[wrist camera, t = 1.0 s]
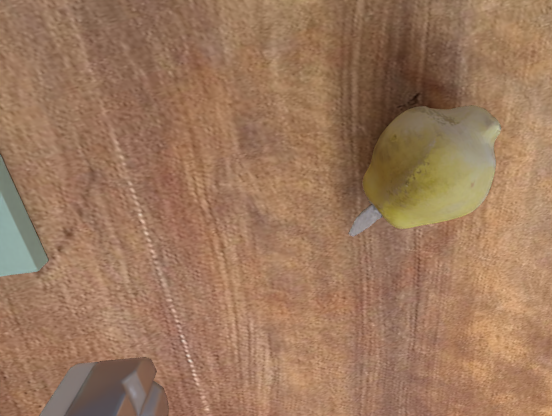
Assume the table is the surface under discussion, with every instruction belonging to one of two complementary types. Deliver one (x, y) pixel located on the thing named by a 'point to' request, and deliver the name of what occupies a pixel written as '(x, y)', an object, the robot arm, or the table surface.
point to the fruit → (430, 167)
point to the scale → (16, 232)
